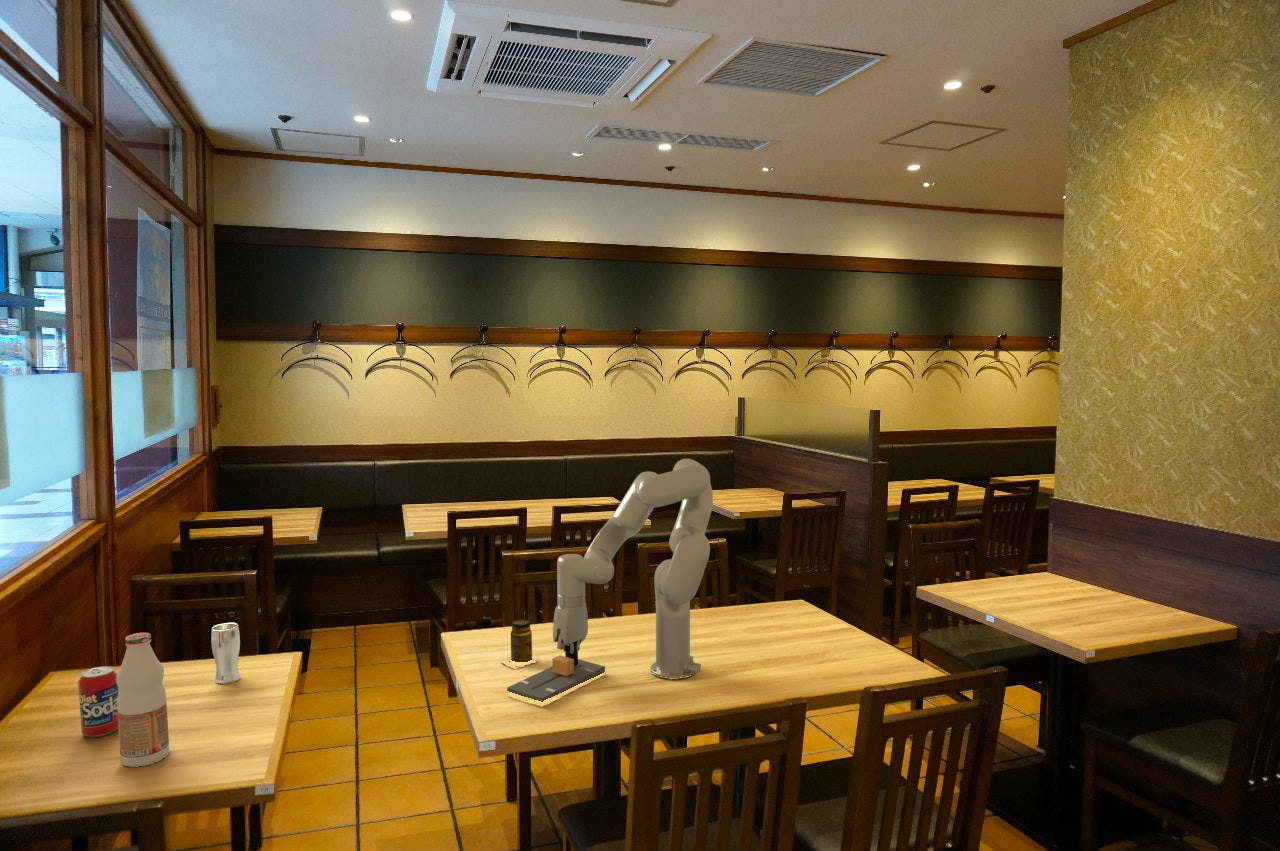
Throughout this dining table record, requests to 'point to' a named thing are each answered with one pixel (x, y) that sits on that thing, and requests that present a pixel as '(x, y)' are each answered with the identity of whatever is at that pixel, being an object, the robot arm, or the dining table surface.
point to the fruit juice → (141, 704)
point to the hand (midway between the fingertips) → (571, 665)
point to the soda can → (98, 701)
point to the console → (555, 681)
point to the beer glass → (226, 652)
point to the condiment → (521, 641)
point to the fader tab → (563, 665)
